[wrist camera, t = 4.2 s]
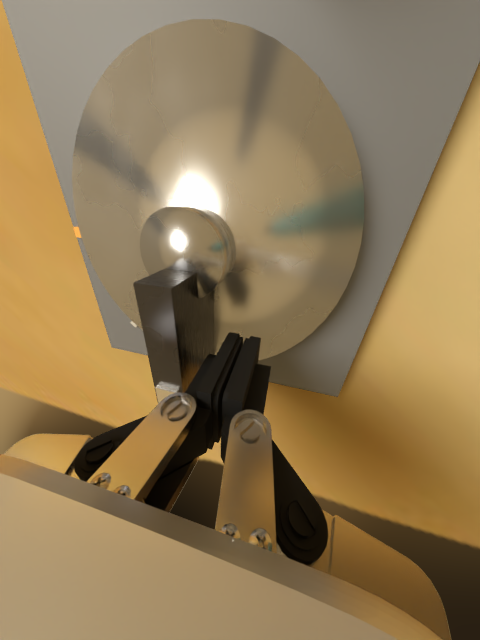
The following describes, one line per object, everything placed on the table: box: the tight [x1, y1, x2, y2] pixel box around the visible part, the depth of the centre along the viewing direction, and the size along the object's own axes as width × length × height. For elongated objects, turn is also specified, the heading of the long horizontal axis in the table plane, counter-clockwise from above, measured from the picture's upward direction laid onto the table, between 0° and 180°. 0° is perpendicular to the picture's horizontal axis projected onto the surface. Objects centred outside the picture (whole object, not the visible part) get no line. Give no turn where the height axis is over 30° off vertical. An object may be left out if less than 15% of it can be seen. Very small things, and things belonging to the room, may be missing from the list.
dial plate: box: [2, 0, 480, 397], centre depth 11 cm, size 18×18×1 cm
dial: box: [72, 19, 364, 404], centre depth 9 cm, size 14×14×5 cm
